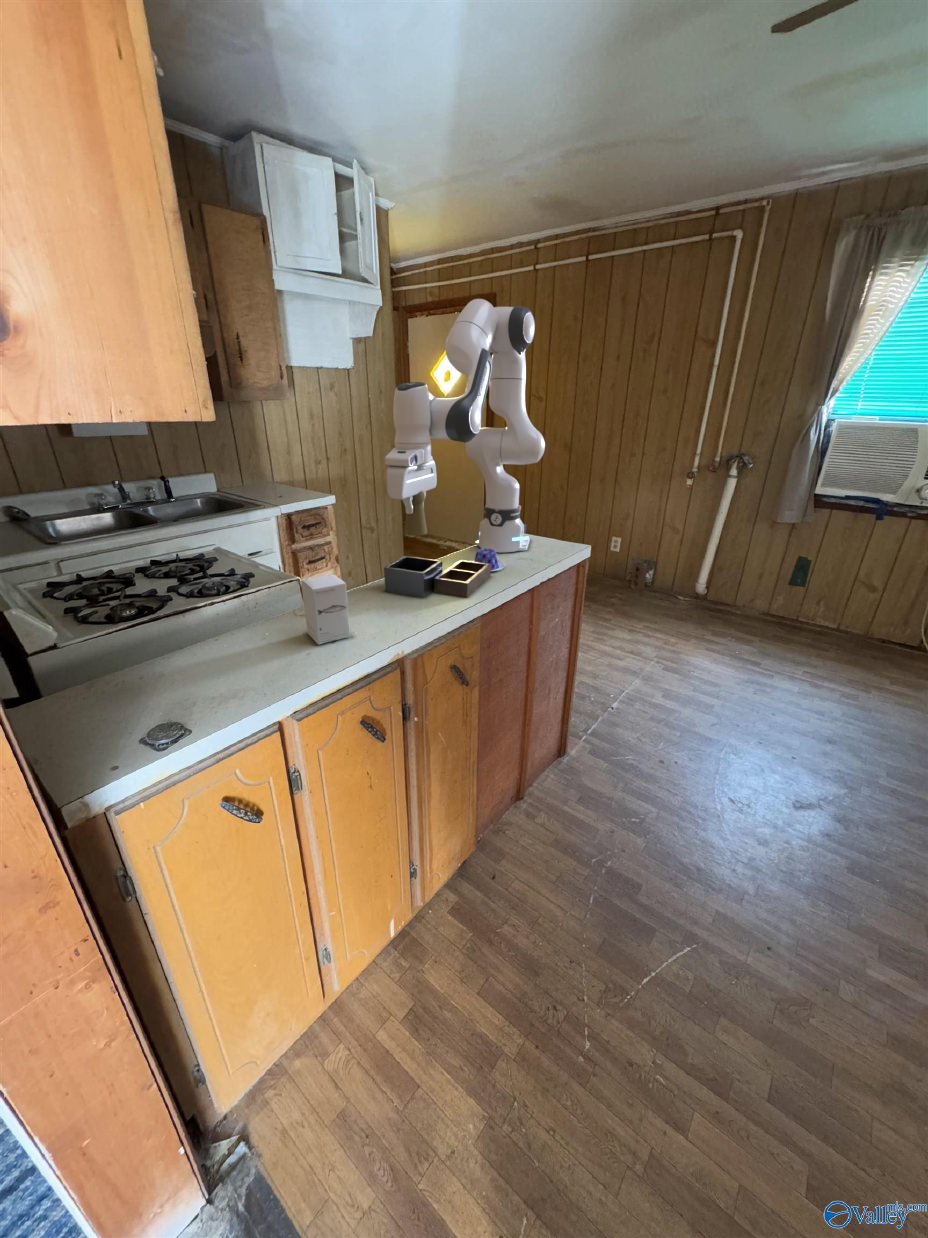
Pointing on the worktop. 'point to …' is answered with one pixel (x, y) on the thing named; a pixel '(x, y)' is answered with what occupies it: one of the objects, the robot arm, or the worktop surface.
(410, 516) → the cork
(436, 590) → the divided tray
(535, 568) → the worktop surface
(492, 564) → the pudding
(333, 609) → the white packaging box
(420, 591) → the grey open box
